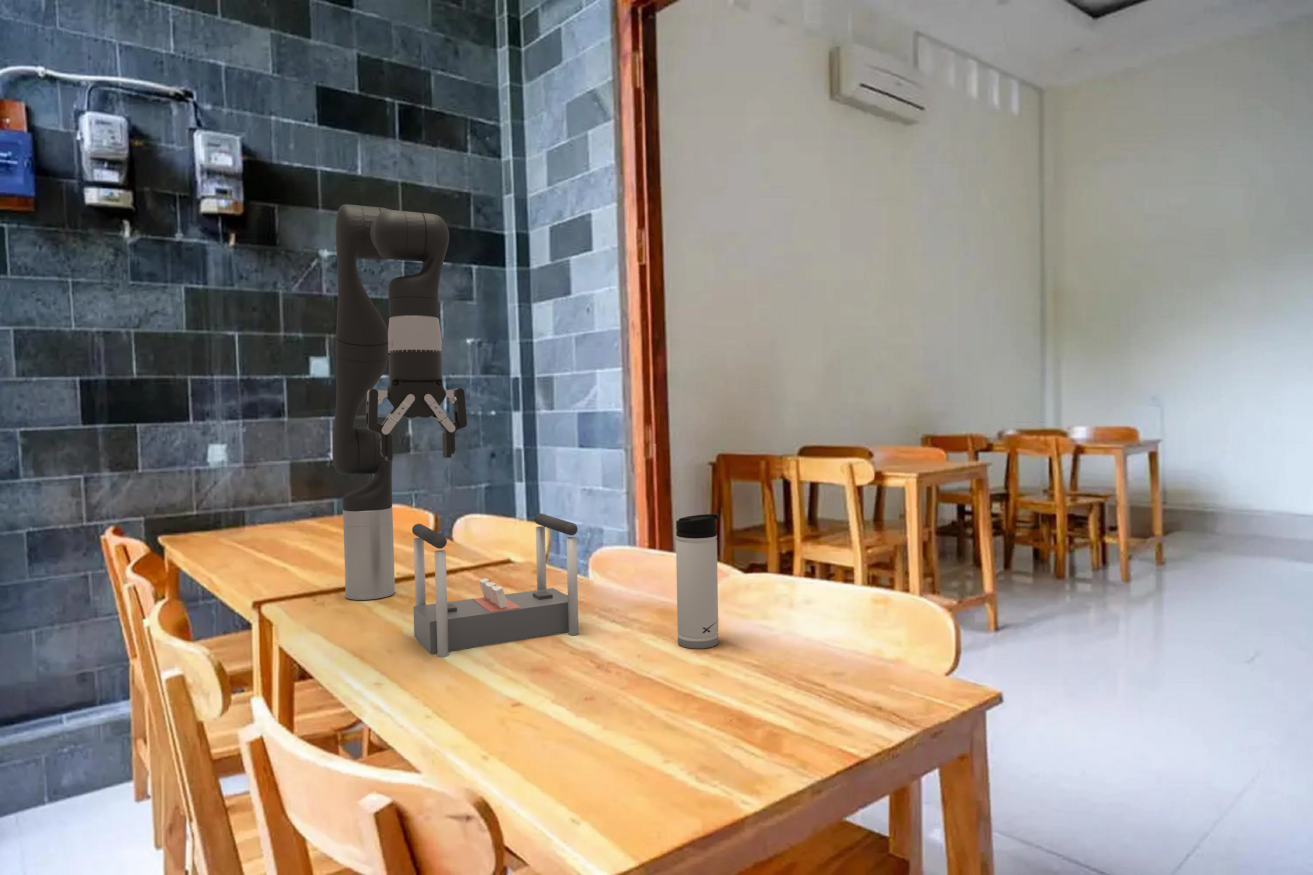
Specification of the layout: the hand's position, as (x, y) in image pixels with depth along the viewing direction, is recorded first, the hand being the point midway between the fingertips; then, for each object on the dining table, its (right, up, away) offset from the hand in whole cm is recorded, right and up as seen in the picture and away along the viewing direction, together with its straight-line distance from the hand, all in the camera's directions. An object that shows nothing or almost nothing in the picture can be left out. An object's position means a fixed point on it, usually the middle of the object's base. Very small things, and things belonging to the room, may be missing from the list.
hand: (418, 458), depth 121 cm
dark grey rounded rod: (0, -13, +6) cm, 14 cm away
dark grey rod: (+18, -12, +16) cm, 27 cm away
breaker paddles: (+9, -24, +12) cm, 28 cm away
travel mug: (+42, -29, +5) cm, 51 cm away
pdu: (+9, -29, +12) cm, 32 cm away
